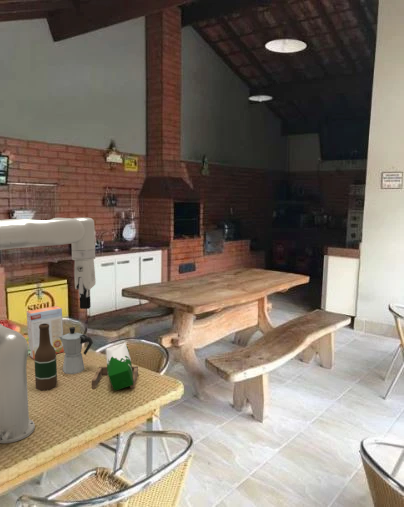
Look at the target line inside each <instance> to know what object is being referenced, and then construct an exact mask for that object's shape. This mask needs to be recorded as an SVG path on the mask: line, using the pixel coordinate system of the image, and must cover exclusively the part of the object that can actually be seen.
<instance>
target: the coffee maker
mask: <svg viewBox="0 0 404 507" xmlns="http://www.w3.org/2000/svg"><path fill="white" fill-rule="evenodd" d="M58 337H59V338H60V339H61V341H62V343H63V349H64V352H63V353H64V358H63V364H62V365H63V366H62V372H63V373H64V374H65V375H66V374H67V375H76V374H80V373H82V372H83V371H85V364H84V360H83V358H84V357H83V354H84V355H87V353H88V352H89V350H90V348H91V347H92V345H93V343H94V342H93V340H92V338H91V337H90V336H87V335H86V334H83V333H80V332H76V327H74V326H71V327H69V332H68V333H65V334H63V336H58ZM85 343H88V344H87V346H86V348H85V350H84V352H83V354H82V351H83V350H82V349H83V344H85Z"/></svg>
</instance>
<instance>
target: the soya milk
mask: <svg viewBox="0 0 404 507" xmlns="http://www.w3.org/2000/svg"><path fill="white" fill-rule="evenodd" d="M105 351H106V367H107V373H108V375H107V376H108V378H109V381H110V384H111V387H112V388H113V391H114V392H115V391H118V390H122V389H124V388H128V387H130V386H131V385H133V371H132V367H133V364H132V358H131V355H130V350H129V347H128V346H127V344H126V342H123V343H119V344H116V345H112V346H110V347H107V348H106V349H105Z"/></svg>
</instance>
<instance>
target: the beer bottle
mask: <svg viewBox="0 0 404 507" xmlns="http://www.w3.org/2000/svg"><path fill="white" fill-rule="evenodd" d="M39 329H40V339H39V347H38V349H37V351H36V353H35V359H34V376H35V377H34V378H35V389H36V390H38V391H40V392H43V391H50V390H53V389H55V388H56V387H57V384H58V367H57V354H56V351H55V349H54V347H53V346H52V345H51V342H50V335H49V324H46V323H45V324H40V325H39Z"/></svg>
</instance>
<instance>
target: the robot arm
mask: <svg viewBox="0 0 404 507" xmlns="http://www.w3.org/2000/svg"><path fill="white" fill-rule="evenodd" d="M69 244H71V260H72V261H74V265H73V266H74V275H73V276H74V289H75V290H76V291H78V295H79V309H80V310H87V309H88V310H89V309H91V307H92V306H91V305H92V304H91V289H93V288H94V286H95V285H96V281H97V280H96V270H95V268H96V267H95V261H94V260H96V238H95V220H94V219H93V218H91V217H73V218H72V217H71V218H69V217H54V218H50V219H47V220H45V219H44V220H43V219H42V220H41V219H31V218H30V219H29V218H10V219H9V218H8V219H6V218H5V219H0V251H2V250H9V249H11V250H12V249H21V248H35V247H46V246H47V247H48V246H59V245H60V246H61V245H69ZM28 357H29V342H28V340H27V339H26V337H25V336H24V335H23V334H21V333H20V332H19V331H17V330H14V329H11V328H9V327H6V326H5V325H4V324H2V323H0V444H9V443H14V442H18V441H21V440H23V439H26V438H27V437H29V436H30V435H31V434H32V433H33V432H34V431H35V426H36V424H35V422H34V420H32V419H30V418H29V417H30V416H29V413H30V412H29V396H28V394H29V393H28V392H29V391H28V378H27V374H28V373H27V364H28V362H27V361H28Z"/></svg>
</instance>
